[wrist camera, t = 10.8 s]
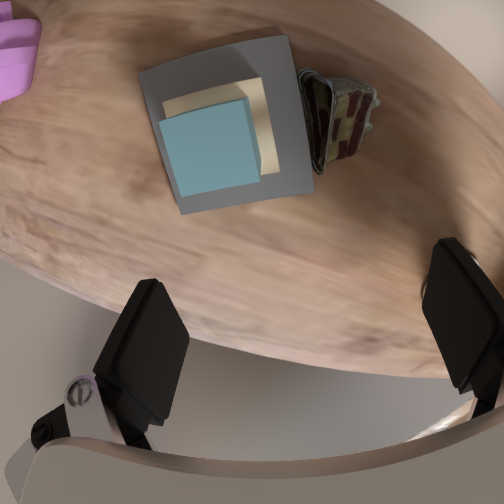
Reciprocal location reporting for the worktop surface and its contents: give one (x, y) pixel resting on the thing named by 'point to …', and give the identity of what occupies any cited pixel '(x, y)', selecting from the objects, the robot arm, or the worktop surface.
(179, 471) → the robot arm
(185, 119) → the teal block
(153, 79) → the stacking base
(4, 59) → the teakettle
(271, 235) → the worktop surface
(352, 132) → the chocolate cake
